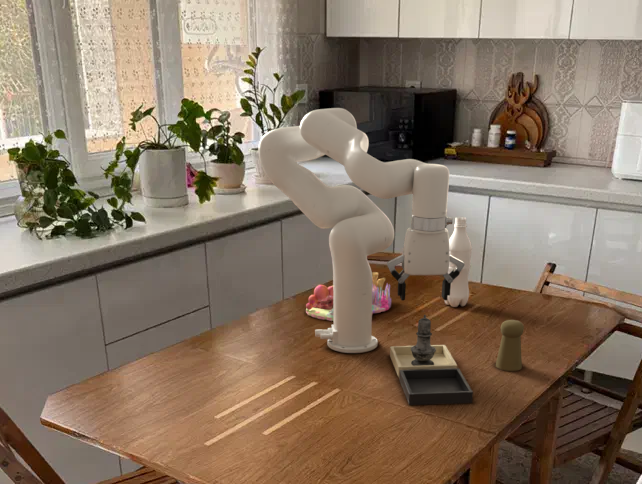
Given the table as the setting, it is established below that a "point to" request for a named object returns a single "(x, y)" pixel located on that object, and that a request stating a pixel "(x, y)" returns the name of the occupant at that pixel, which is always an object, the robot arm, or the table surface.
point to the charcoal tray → (435, 386)
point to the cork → (510, 346)
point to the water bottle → (462, 251)
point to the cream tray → (404, 357)
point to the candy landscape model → (323, 299)
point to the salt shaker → (423, 344)
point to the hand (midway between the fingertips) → (423, 298)
